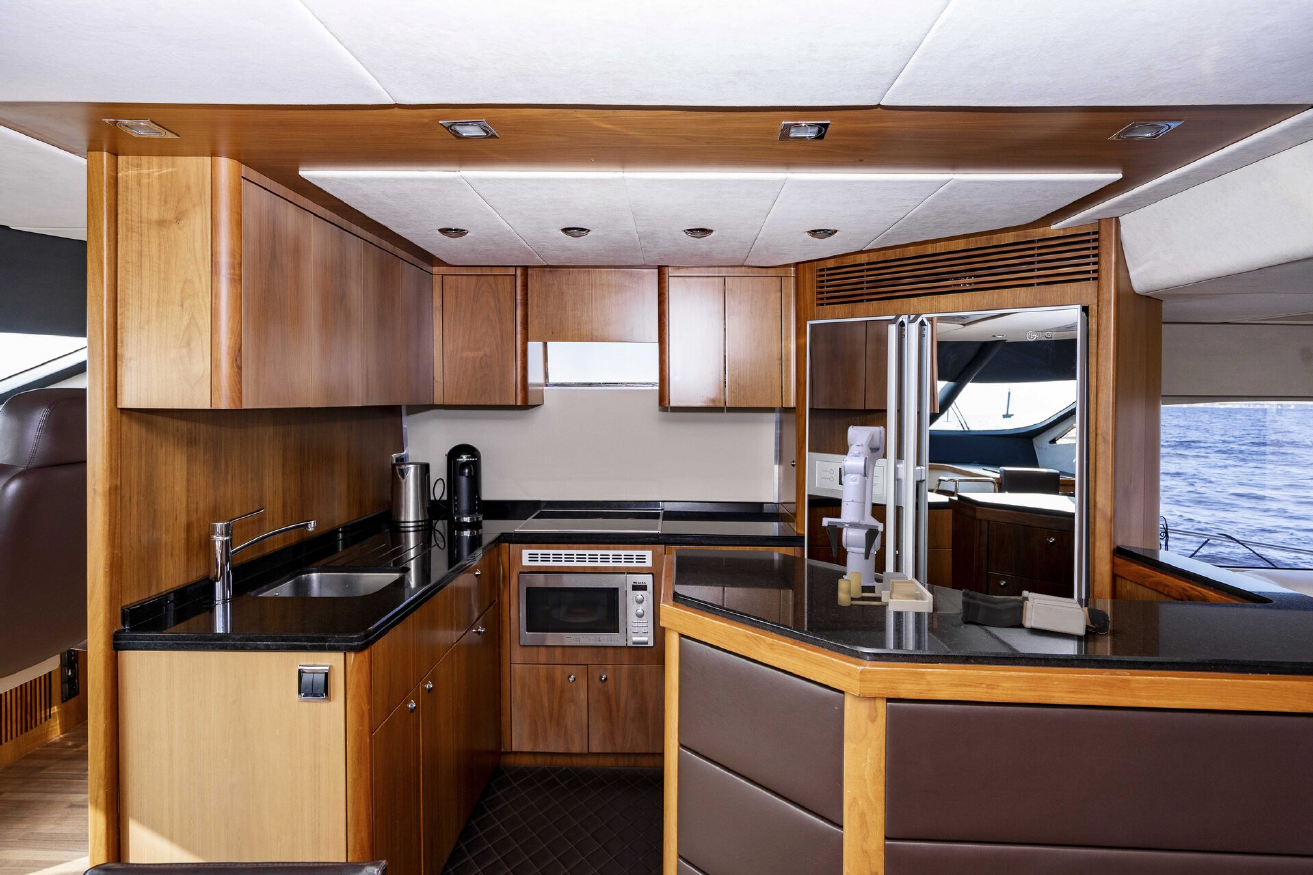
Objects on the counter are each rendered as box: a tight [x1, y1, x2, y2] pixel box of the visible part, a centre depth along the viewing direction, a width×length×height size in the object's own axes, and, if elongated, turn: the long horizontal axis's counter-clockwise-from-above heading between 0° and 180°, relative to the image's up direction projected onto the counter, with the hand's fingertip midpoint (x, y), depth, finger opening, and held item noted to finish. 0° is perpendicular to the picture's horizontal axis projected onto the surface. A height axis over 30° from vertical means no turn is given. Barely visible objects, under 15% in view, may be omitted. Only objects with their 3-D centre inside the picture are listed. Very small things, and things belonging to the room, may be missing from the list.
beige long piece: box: [837, 578, 916, 607], centre depth 180 cm, size 5×18×6 cm, turn 84°
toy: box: [960, 588, 1111, 636], centre depth 165 cm, size 19×7×30 cm
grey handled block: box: [849, 571, 909, 599], centre depth 188 cm, size 5×14×6 cm, turn 84°
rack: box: [874, 577, 934, 613], centre depth 183 cm, size 17×10×4 cm, turn 174°
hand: (850, 557), depth 180 cm, fingers open, 7 cm apart
